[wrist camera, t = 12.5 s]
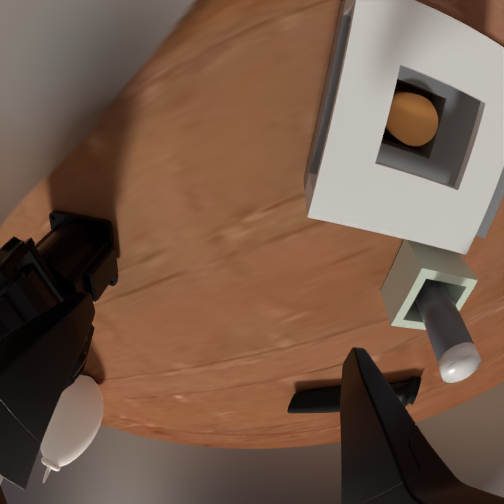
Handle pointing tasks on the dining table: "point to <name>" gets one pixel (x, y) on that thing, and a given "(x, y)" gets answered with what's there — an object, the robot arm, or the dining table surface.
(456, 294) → the pen stand
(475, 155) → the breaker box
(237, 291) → the dining table surface
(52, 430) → the sauce bottle
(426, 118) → the button
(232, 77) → the dining table surface
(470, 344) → the flashlight
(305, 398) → the electric trimmer
